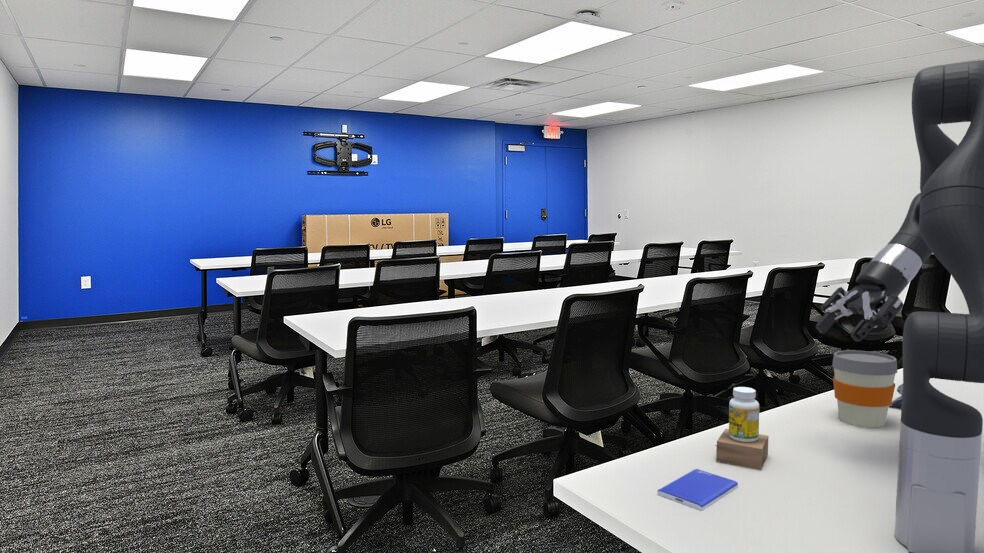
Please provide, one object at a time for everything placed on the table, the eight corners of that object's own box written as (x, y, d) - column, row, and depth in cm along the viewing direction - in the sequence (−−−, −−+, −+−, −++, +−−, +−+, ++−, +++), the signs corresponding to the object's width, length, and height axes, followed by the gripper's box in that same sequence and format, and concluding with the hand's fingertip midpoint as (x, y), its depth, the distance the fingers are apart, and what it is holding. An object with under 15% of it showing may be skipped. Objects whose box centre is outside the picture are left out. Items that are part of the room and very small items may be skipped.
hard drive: (694, 467, 113) (657, 488, 104) (738, 481, 107) (702, 504, 98) (694, 476, 113) (657, 497, 104) (738, 490, 107) (701, 514, 98)
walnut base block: (761, 470, 114) (761, 449, 113) (716, 461, 118) (716, 441, 117) (767, 455, 120) (768, 435, 120) (725, 447, 125) (725, 428, 124)
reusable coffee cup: (908, 426, 136) (911, 359, 134) (867, 434, 131) (871, 365, 130) (855, 409, 147) (858, 348, 146) (817, 416, 143) (819, 353, 141)
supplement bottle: (764, 441, 117) (766, 391, 116) (741, 444, 116) (742, 394, 115) (745, 431, 122) (746, 384, 121) (722, 434, 121) (723, 387, 120)
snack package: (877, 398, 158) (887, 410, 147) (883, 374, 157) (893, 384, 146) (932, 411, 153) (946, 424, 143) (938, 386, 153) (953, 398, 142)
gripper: (848, 257, 125) (798, 315, 123) (911, 261, 111) (855, 327, 109) (869, 282, 126) (819, 340, 125) (933, 289, 112) (878, 355, 111)
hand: (836, 334), depth 117 cm, fingers open, 8 cm apart
